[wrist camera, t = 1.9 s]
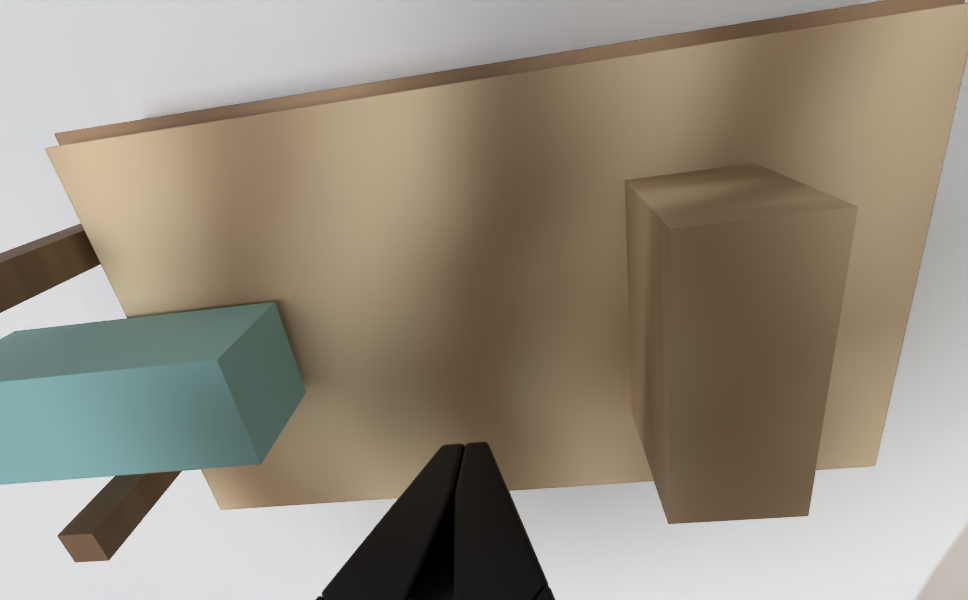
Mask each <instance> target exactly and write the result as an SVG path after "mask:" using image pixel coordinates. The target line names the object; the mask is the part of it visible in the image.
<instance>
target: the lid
mask: <svg viewBox="0 0 968 600" xmlns="http://www.w3.org/2000/svg"><path fill="white" fill-rule="evenodd" d="M967 54H968V3H964V4H956V5H949V6H942V7H936V8H929V9H923V10H917V11H910V12H904V13H898V14H891V15H885V16H879V17H872V18H866V19H860V20H853V21H847V22H840V23H834V24H828V25H821V26H815V27H809V28H802V29H796V30H790V31H783V32H777V33H771V34H764V35H758V36H751V37H745V38H739V39H732V40H726V41H720V42H713V43H707V44H701V45H694V46H688V47H682V48H675V49H669V50H662V51H656V52H650V53H643V54H637V55H631V56H624V57H618V58H612V59H605V60H599V61H593V62H586V63H580V64H573V65H567V66H561V67H554V68H548V69H542V70H535V71H529V72H523V73H516V74H510V75H503V76H497V77H491V78H484V79H478V80H472V81H465V82H459V83H453V84H446V85H440V86H434V87H427V88H421V89H414V90H408V91H402V92H395V93H389V94H383V95H376V96H370V97H364V98H357V99H351V100H345V101H338V102H332V103H325V104H319V105H313V106H306V107H300V108H294V109H287V110H281V111H275V112H268V113H262V114H256V115H249V116H243V117H236V118H230V119H224V120H217V121H211V122H205V123H198V124H192V125H186V126H179V127H173V128H167V129H160V130H154V131H147V132H141V133H135V134H128V135H122V136H116V137H109V138H103V139H97V140H90V141H84V142H78V143H71V144H65V145H60V146H55V147H49V148H45V150H46V152H47V154H48V156H49V158H50V160H51V163H52V165H53V167H54V169H55V171H56V173H57V175H58V177H59V179H60V181H61V183H62V185H63V187H64V189H65V191H66V193H67V195H68V197H69V199H70V202H71V204H72V206H73V208H74V210H75V212H76V214H77V216H78V218H79V220H80V222H81V224H82V226H83V228H84V230H85V232H86V234H87V236H88V238H89V241H90V243H91V245H92V247H93V249H94V251H95V253H96V255H97V257H98V259H99V261H100V263H101V265H102V267H103V269H104V271H105V273H106V275H107V277H108V280H109V282H110V284H111V286H112V288H113V290H114V292H115V294H116V296H117V298H118V300H119V302H120V304H121V306H122V308H123V310H124V312H125V314H126V316H127V319H128V318H137V317H146V316H154V315H163V314H172V313H181V312H190V311H198V310H207V309H216V308H225V307H234V306H242V305H251V304H260V303H269V302H275V304H276V306H277V309H278V312H279V315H280V318H281V321H282V324H283V327H284V330H285V332H286V335H287V338H288V341H289V344H290V347H291V350H292V353H293V355H294V358H295V361H296V364H297V367H298V370H299V373H300V376H301V378H302V381H303V384H304V387H305V390H306V394H305V396H304V397H303V399H302V400H301V402H300V403H299V405H298V407H297V408H296V410H295V411H294V413H293V415H292V416H291V418H290V419H289V421H288V422H287V424H286V426H285V427H284V429H283V430H282V432H281V434H280V435H279V437H278V438H277V440H276V441H275V443H274V445H273V446H272V448H271V449H270V451H269V453H268V454H267V456H266V457H265V459H264V460H263V462H262V464H261V465H249V466H236V467H222V468H209V469H201V470H202V472H203V475H204V477H205V479H206V481H207V483H208V485H209V487H210V489H211V491H212V493H213V495H214V497H215V499H216V501H217V503H218V505H219V507H220V509H221V510H226V509H241V508H256V507H271V506H286V505H301V504H316V503H331V502H346V501H361V500H376V499H391V498H399V497H400V496H401V495H402V494H403V492H404V491H405V490H406V489H407V487H408V486H409V485H410V484H411V482H412V481H413V480H414V479H415V478H416V476H417V475H418V474H419V473H420V471H421V470H422V469H423V468H424V467H425V465H426V464H427V463H428V462H429V460H430V459H431V458H432V457H433V456H434V454H435V453H436V452H437V451H438V449H439V448H440V447H441V446H443V445H446V444H459V443H462V444H464V445H466V444H467V443H472V442H487V443H488V444H489V445H490V448H491V450H492V453H493V455H494V457H495V460H496V462H497V464H498V467H499V469H500V471H501V474H502V476H503V478H504V481H505V483H506V486H507V488H508V490H509V491H510V490H525V489H540V488H555V487H570V486H585V485H600V484H615V483H630V482H645V481H654V482H655V485H656V488H657V491H658V494H659V497H660V500H661V503H662V506H663V509H664V512H665V515H666V518H667V521H668V524H676V523H693V522H710V521H728V520H745V519H762V518H780V517H797V516H808V513H809V507H810V501H811V495H812V489H813V483H814V476H815V470H824V469H839V468H854V467H868V466H875V465H876V460H877V456H878V451H879V447H880V442H881V438H882V434H883V429H884V425H885V420H886V416H887V411H888V407H889V402H890V398H891V393H892V389H893V384H894V380H895V375H896V371H897V367H898V362H899V358H900V353H901V349H902V344H903V340H904V335H905V331H906V326H907V322H908V317H909V313H910V309H911V304H912V300H913V295H914V291H915V286H916V282H917V277H918V273H919V268H920V264H921V259H922V255H923V251H924V246H925V242H926V237H927V233H928V228H929V224H930V219H931V215H932V210H933V206H934V201H935V197H936V192H937V188H938V184H939V179H940V175H941V170H942V166H943V161H944V157H945V152H946V148H947V143H948V139H949V134H950V130H951V126H952V121H953V117H954V112H955V108H956V103H957V99H958V94H959V90H960V85H961V81H962V76H963V72H964V67H965V63H966V59H967Z"/></svg>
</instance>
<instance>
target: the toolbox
mask: <svg viewBox="0 0 968 600" xmlns="http://www.w3.org/2000/svg"><path fill="white" fill-rule="evenodd" d="M964 1H965V0H885V1H878V2H872V3H866V4H860V5H853V6H847V7H841V8H835V9H828V10H822V11H816V12H810V13H803V14H797V15H791V16H785V17H778V18H772V19H766V20H760V21H754V22H747V23H741V24H735V25H729V26H722V27H716V28H710V29H704V30H697V31H691V32H685V33H679V34H672V35H666V36H660V37H654V38H647V39H641V40H635V41H629V42H623V43H616V44H610V45H604V46H598V47H591V48H585V49H579V50H573V51H566V52H560V53H554V54H548V55H541V56H535V57H529V58H523V59H516V60H510V61H504V62H498V63H492V64H485V65H479V66H473V67H467V68H460V69H454V70H448V71H442V72H435V73H429V74H423V75H417V76H410V77H404V78H398V79H392V80H385V81H379V82H373V83H367V84H361V85H354V86H348V87H342V88H336V89H329V90H323V91H317V92H311V93H304V94H298V95H292V96H286V97H279V98H273V99H267V100H261V101H254V102H248V103H242V104H236V105H230V106H223V107H217V108H211V109H205V110H198V111H192V112H186V113H180V114H173V115H167V116H161V117H155V118H148V119H142V120H136V121H130V122H123V123H117V124H111V125H105V126H99V127H92V128H86V129H80V130H74V131H67V132H61V133H55V137H56V139H57V141H58V143H59V145H65V144H71V143H78V142H84V141H90V140H97V139H103V138H109V137H116V136H122V135H128V134H135V133H141V132H147V131H154V130H160V129H167V128H173V127H179V126H186V125H192V124H198V123H205V122H211V121H217V120H224V119H230V118H236V117H243V116H249V115H256V114H262V113H268V112H275V111H281V110H287V109H294V108H300V107H306V106H313V105H319V104H325V103H332V102H338V101H345V100H351V99H357V98H364V97H370V96H376V95H383V94H389V93H395V92H402V91H408V90H414V89H421V88H427V87H434V86H440V85H446V84H453V83H459V82H465V81H472V80H478V79H484V78H491V77H497V76H503V75H510V74H516V73H523V72H529V71H535V70H542V69H548V68H554V67H561V66H567V65H573V64H580V63H586V62H593V61H599V60H605V59H612V58H618V57H624V56H631V55H637V54H643V53H650V52H656V51H662V50H669V49H675V48H682V47H688V46H694V45H701V44H707V43H713V42H720V41H726V40H732V39H739V38H745V37H751V36H758V35H764V34H771V33H777V32H783V31H790V30H796V29H802V28H809V27H815V26H821V25H828V24H834V23H840V22H847V21H853V20H860V19H866V18H872V17H879V16H885V15H891V14H898V13H904V12H910V11H917V10H923V9H929V8H936V7H942V6H949V5H956V4H964ZM99 264H101V263H100V261H99V259H98V257H97V255H96V253H95V251H94V249H93V247H92V245H91V243H90V241H89V238H88V236H87V234H86V232H85V230H84V228H83V226H82V224H78V225H76V226H73V227H70V228H68V229H65V230H62V231H60V232H57V233H54V234H52V235H49V236H46V237H43V238H41V239H38V240H35V241H33V242H30V243H27V244H25V245H22V246H19V247H17V248H14V249H11V250H9V251H6V252H3V253H0V313H1V312H3V311H5V310H7V309H9V308H11V307H13V306H15V305H17V304H19V303H21V302H23V301H25V300H28V299H30V298H32V297H34V296H36V295H38V294H40V293H42V292H44V291H46V290H48V289H50V288H52V287H54V286H56V285H58V284H60V283H62V282H65V281H67V280H69V279H71V278H73V277H75V276H77V275H79V274H81V273H83V272H85V271H87V270H89V269H91V268H93V267H95V266H97V265H99ZM180 473H181V471H170V472H157V473H144V474H131V475H118V476H115V477H114V478H113V479H112V480H111V481H110V482H109V483H108V484H107V485H106V486H105V487H104V488H103V489H102V490H101V491H100V492H99V493H98V494H97V495H96V496H95V497H94V498H93V499H92V501H91V502H90V503H89V504H88V505H87V506H86V507H85V508H84V509H83V510H82V511H81V512H80V513H79V514H78V515H77V516H76V517H75V518H74V519H73V520H72V521H71V522H70V523H69V524H68V525H67V526H66V527H65V528H64V530H63V531H62V532H61V533H60V534H59V535H58V538H59V539H60V541H61V542H62V543H63V545H64V546H65V548H66V549H67V551H68V552H69V554H70V555H71V557H72V558H73V559H74V561H75V562H88V561H105V560H110V558H111V557H112V556H113V555H114V554H115V552H116V551H117V550H118V549H119V547H120V546H121V545H122V544H123V542H124V541H125V540H126V539H127V538H128V536H129V535H130V534H131V533H132V531H133V530H134V529H135V528H136V527H137V525H138V524H139V523H140V522H141V520H142V519H143V518H144V517H145V515H146V514H147V513H148V512H149V511H150V509H151V508H152V507H153V506H154V504H155V503H156V502H157V501H158V500H159V498H160V497H161V496H162V495H163V493H164V492H165V491H166V490H167V488H168V487H169V486H170V485H171V484H172V482H173V481H174V480H175V479H176V477H177V476H178V475H179V474H180Z"/></svg>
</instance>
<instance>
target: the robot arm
mask: <svg viewBox="0 0 968 600" xmlns="http://www.w3.org/2000/svg"><path fill="white" fill-rule="evenodd" d="M322 597H323V598H322ZM322 597H321V596H319V597H318V598H317V599H316V600H555V598H554V596H553V593H552V591H551V589H550V588H549V586H548V582H547V580H546V578H545V575H544V573H543V570H542V568H541V566H540V563H539V561H538V559H537V556H536V554H535V552H534V549H533V547H532V544H531V542H530V540H529V537H528V535H527V533H526V530H525V528H524V526H523V523H522V521H521V519H520V516H519V514H518V511H517V509H516V507H515V504H514V502H513V500H512V497H511V495H510V493H509V490H508V488H507V486H506V483H505V481H504V478H503V476H502V474H501V471H500V469H499V467H498V464H497V462H496V460H495V457H494V455H493V453H492V450H491V448H490V445H489V444H488V443H487V442H472V443H467V444H466V445H464V444H462V443H459V444H446V445H443V446H441V447H440V448H439V449H438V451H437V452H436V453H435V454H434V456H433V457H432V458H431V459H430V460H429V462H428V463H427V464H426V465H425V467H424V468H423V469H422V470H421V471H420V473H419V474H418V475H417V476H416V478H415V479H414V480H413V481H412V482H411V484H410V485H409V486H408V487H407V489H406V490H405V491H404V492H403V494H402V495H401V496H400V497H399V498H398V500H397V501H396V502H395V503H394V505H393V506H392V507H391V508H390V509H389V511H388V512H387V513H386V514H385V516H384V517H383V518H382V519H381V521H380V522H379V523H378V524H377V525H376V527H375V528H374V529H373V530H372V532H371V533H370V534H369V535H368V536H367V538H366V539H365V540H364V541H363V543H362V544H361V545H360V546H359V548H358V549H357V550H356V551H355V552H354V554H353V555H352V556H351V557H350V559H349V560H348V561H347V562H346V563H345V565H344V566H343V567H342V568H341V570H340V571H339V572H338V573H337V575H336V576H335V577H334V578H333V579H332V581H331V582H330V583H329V584H328V586H327V587H326V588H325V589H324V590H323V592H322Z"/></svg>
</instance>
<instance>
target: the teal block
mask: <svg viewBox="0 0 968 600" xmlns="http://www.w3.org/2000/svg"><path fill="white" fill-rule="evenodd" d="M305 394H306V390H305V387H304V384H303V381H302V378H301V376H300V373H299V370H298V367H297V364H296V361H295V358H294V355H293V353H292V350H291V347H290V344H289V341H288V338H287V335H286V332H285V330H284V327H283V324H282V321H281V318H280V315H279V312H278V309H277V306H276V304H275V302H269V303H260V304H251V305H242V306H234V307H225V308H216V309H207V310H198V311H190V312H181V313H172V314H163V315H154V316H146V317H137V318H128V319H119V320H111V321H102V322H93V323H84V324H75V325H67V326H58V327H49V328H40V329H31V330H23V331H15V332H13V333H11V334H9V335H7V336H6V337H4V338H2V339H0V485H1V484H14V483H27V482H40V481H53V480H66V479H79V478H92V477H105V476H118V475H131V474H144V473H157V472H170V471H183V470H196V469H209V468H222V467H236V466H249V465H261V464H262V462H263V460H264V459H265V457H266V456H267V454H268V453H269V451H270V449H271V448H272V446H273V445H274V443H275V441H276V440H277V438H278V437H279V435H280V434H281V432H282V430H283V429H284V427H285V426H286V424H287V422H288V421H289V419H290V418H291V416H292V415H293V413H294V411H295V410H296V408H297V407H298V405H299V403H300V402H301V400H302V399H303V397H304V396H305Z"/></svg>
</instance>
